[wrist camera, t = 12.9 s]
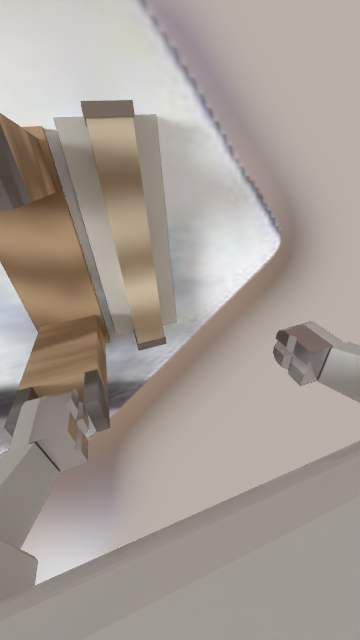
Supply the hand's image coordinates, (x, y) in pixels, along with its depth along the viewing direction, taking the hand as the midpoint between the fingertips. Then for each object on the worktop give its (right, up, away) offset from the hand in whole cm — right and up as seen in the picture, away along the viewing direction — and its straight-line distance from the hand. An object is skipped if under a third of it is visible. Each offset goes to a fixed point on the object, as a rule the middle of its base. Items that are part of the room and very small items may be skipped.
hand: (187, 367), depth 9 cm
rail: (-5, +9, +15) cm, 18 cm away
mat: (-6, +10, +15) cm, 19 cm away
